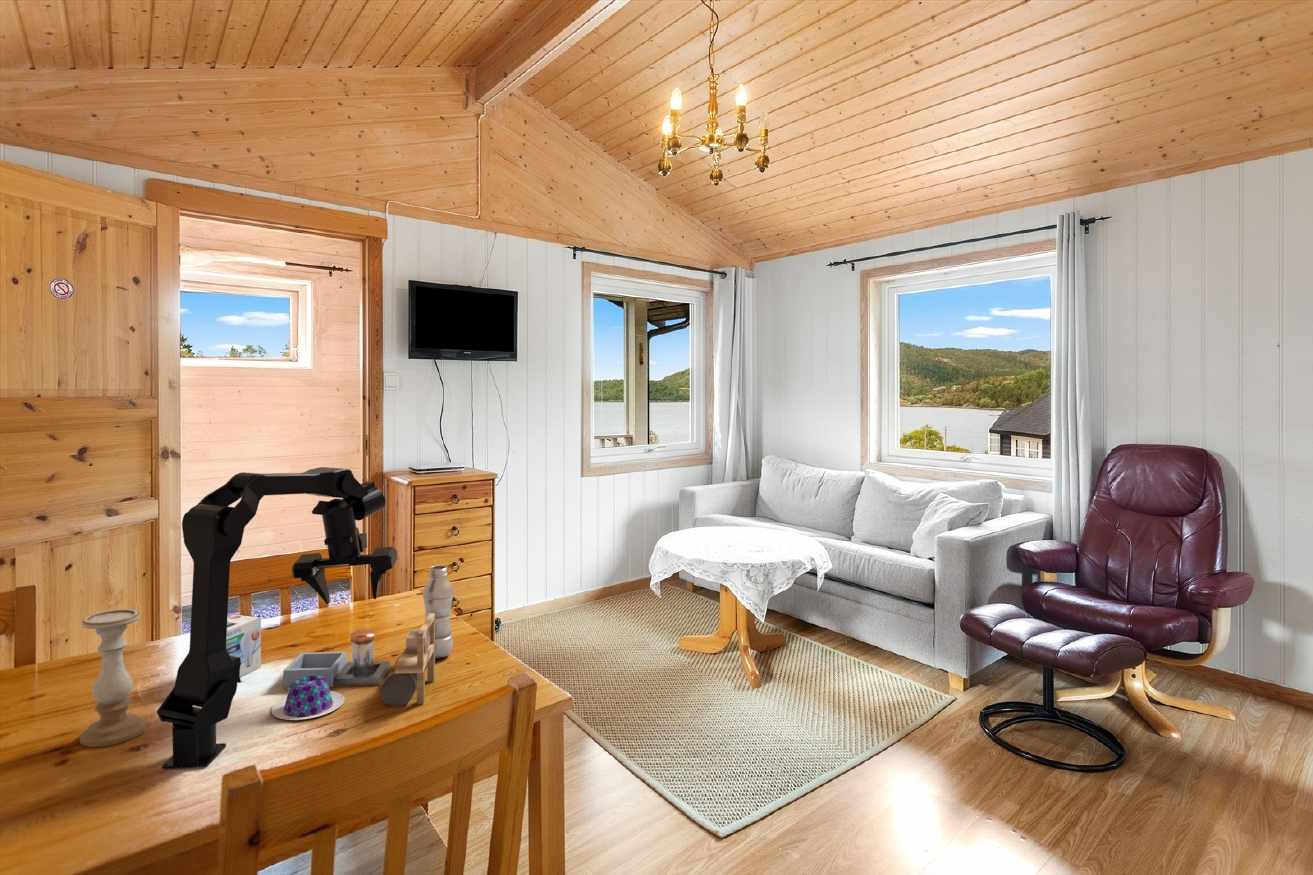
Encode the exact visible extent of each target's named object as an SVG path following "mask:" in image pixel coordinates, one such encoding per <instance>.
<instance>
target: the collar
mask: <svg viewBox="0 0 1313 875" xmlns="http://www.w3.org/2000/svg"><path fill="white" fill-rule="evenodd" d="M390 669H391V661H390V660H380V661H379V660H376V661H375V660H374V675H352V661H348V663H347V664H346V665H345V666H344V667H343V669H342V670H341V671H340V672H339V674H338V675H337V676H336V677H335V679H334V686H333V687H347V686H348V687H351V686H352V687H355V686H356V687H357V686H379V685H380V684H382V681H384V679H385V677H386V675H387V674H388V671H389V670H390Z"/></svg>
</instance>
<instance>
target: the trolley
mask: <svg viewBox="0 0 1313 875" xmlns="http://www.w3.org/2000/svg"><path fill="white" fill-rule="evenodd" d="M424 620H425V619H424ZM434 649H435V613H430V614H429V615H428V617H427V619H426V620H425V621H424V622H423V624H422V625H421V627H420V629H411V630H410V631H409V633H408V634H407V637H406V638H405V648H404V650H403V652H402V653H401V654H400V655H399V657H398V658H397V660H396V661H395V663H394V665H393V671H391V672H390V673H389V674H388V675H387V676H385V677H386V678H384V680H383V682H382V683H381V686H380V691H379V692H380V697H381V699H382V700H383V701H384V703H386V704H387V705H389V706H392V707H402V706H405V705H406V704H408V703H409V702H410V701H411V700H413V699H412V698H413V696H414V695H415V692H416V705H425V701H426V700H425V699H426V681H427V683H434V682H435V680H436V679H435V678H436V676H435V675H436V671H435V670H436V667H435V666H436V662H435V661H436V659H435V650H434ZM426 670H427V674H426ZM426 675H427V676H426ZM426 678H427V679H426Z"/></svg>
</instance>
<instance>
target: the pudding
mask: <svg viewBox="0 0 1313 875" xmlns="http://www.w3.org/2000/svg"><path fill="white" fill-rule="evenodd" d="M344 702H345V697H344V695H343V694H341V693H339V692H338V691H337V692H336V691H333V690H330V687H328V683H327V680H326V679H325V678H324V677H321V676H319V675H315V676H305V677H303V678H298V679H296V680H295V681H294V682H293V683H292V684H291V685H290V688H288V692H287V696H286V697H285V698H282V699H281V700H279V701H277V702H276V703H275V704H274V705H273V706H272V707H271V713H272V715H273V717H276V718H278V719H282V720H288V721H289V720H290V721H299V720H301V721H302V720H308V719H313V718H317V717H321V716H324V715H327V714H328V713H331V712H333V711H335V710H337V709H339V707H341V706H343V703H344Z"/></svg>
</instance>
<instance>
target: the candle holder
mask: <svg viewBox="0 0 1313 875" xmlns="http://www.w3.org/2000/svg"><path fill="white" fill-rule="evenodd" d="M140 618H141V613H140V611H139V610H136V609H131V608H130V609H129V608H121V609H120V608H119V609H112V610H111V609H110V610H105V611H101V612H96V613H92V614H90V615H87V616H86V617H84V618H83V619H82V621H81V627H83V628H85V629H88V630H89V629H90V630H94V632H95V634H96V635H98V636H99V637H100V638H101V642H100V643H99V645H98V647H97V648H96V649H97V651H98V652H100V653H101V667H100V671H99V674H98V676H97V678H96V679H95V681H94V684H93V686H92V689H91V695H92V698H93V699H94V700H95V701H97V702H98V704H97V705H95V707H94V711H95V712H97V714H98V715H99V717H100V718H98V719H97V720H95V721H93V722H91V723H90V724H89V726H88V727H87V728H86V729H84V730H83V731H82V732H81V734H80V735H79V742H80V744H81V745H82V746H84V747H89V748H100V747H108V746H115V745H117V744H121V743H123V742H127V741H129V740H132V739H134V738H136V737H139V735H141V734H143V733H144V731H146V729H147V726H148V724H147V720H146V719H145V718H144V717H141V716H139V715H138V714H136V713H131V712H128V709H129V707H130V705H131V704H132V699H131V698H130V697H129V695H130V694H132V691H133V689H134V681H133V678H132V676H131V675H130V673H129V672H128V670H127V669H126V666H125V663H124V654H123V653H124V652H123V651H124V648H125V647H126V646H127V642H126V641H125V640H124V638H123V634H124V632H125V631H126V630H127V629H128V625H130V624H132V623H135V622H137V621H138V620H139V619H140Z"/></svg>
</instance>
